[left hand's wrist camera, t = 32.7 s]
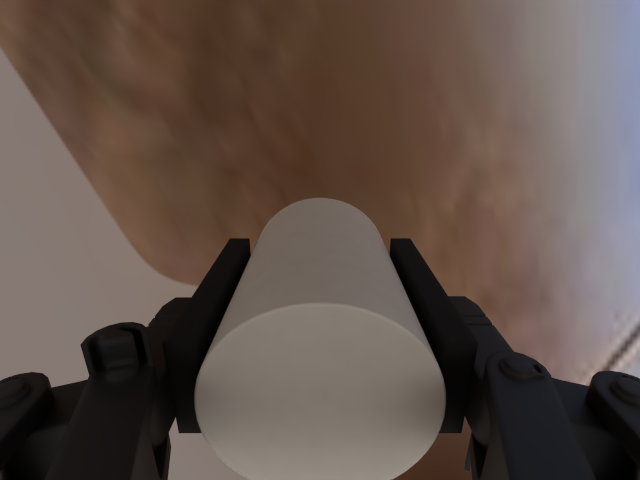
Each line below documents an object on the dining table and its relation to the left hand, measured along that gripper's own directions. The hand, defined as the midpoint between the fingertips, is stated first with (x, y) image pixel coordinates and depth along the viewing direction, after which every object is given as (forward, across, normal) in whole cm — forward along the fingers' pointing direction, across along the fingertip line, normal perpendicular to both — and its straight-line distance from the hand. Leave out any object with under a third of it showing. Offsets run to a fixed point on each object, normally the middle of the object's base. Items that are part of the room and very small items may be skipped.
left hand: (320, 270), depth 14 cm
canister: (+1, 0, 0) cm, 1 cm away
